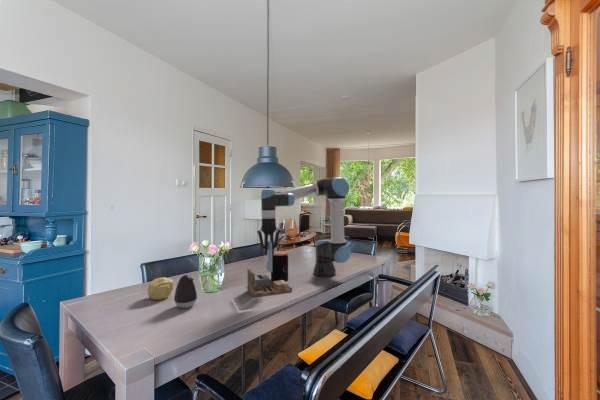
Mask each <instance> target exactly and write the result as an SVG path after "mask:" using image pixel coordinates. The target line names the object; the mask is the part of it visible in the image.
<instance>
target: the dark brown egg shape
mask: <svg viewBox="0 0 600 400" xmlns="http://www.w3.org/2000/svg"><path fill="white" fill-rule="evenodd" d="M197 299H198V293H197V288H196V284H195V282H194V278H192V277H191V276H190V275H188V274H184V275H181V276H180V278H179V280H178V282H177V284H176V287H175V292H174V302H175V306H177V307H178V308H180V309H188V308H191V307H192V306H194V305H195V304H196V301H197Z"/></svg>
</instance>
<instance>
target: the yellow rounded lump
mask: <svg viewBox="0 0 600 400" xmlns="http://www.w3.org/2000/svg"><path fill="white" fill-rule="evenodd" d="M173 289H174V281H173V279H171V278H168V277H165V276H163V277H157V278H154V279H152V280H151V281H150V282H149V284H148V286H147V289H146V291H147V296H148V297H149V298H150V299H151V300H155V301H161V300H165V299H167V298H168V297H169V296H170V295H171V293H172V291H173Z"/></svg>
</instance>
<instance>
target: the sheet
mask: <svg viewBox="0 0 600 400" xmlns="http://www.w3.org/2000/svg"><path fill="white" fill-rule="evenodd" d="M267 249H269V261H266V260H265V261H266V266H265V267H266V270H267V272H269V273H271V272H272V242H270V240H268V247H267Z"/></svg>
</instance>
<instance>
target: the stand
mask: <svg viewBox="0 0 600 400" xmlns="http://www.w3.org/2000/svg"><path fill="white" fill-rule="evenodd" d="M267 285H271V277H269V276H268V275H267V274H265V273H259V274H255V287H259V286H267Z"/></svg>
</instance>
